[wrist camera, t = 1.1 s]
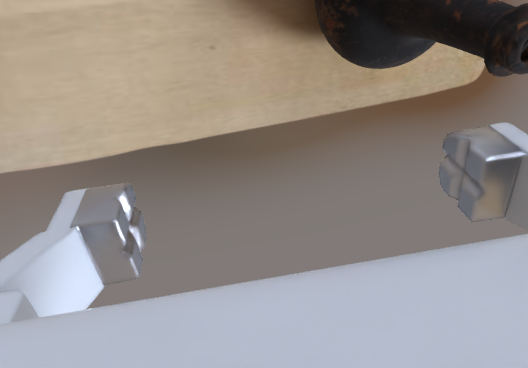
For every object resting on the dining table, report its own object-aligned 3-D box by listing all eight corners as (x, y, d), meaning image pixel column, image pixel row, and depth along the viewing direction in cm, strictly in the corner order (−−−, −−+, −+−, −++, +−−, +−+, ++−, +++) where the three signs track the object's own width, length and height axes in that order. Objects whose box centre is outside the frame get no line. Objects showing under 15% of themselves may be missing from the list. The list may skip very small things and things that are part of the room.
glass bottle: (348, -138, 45) (567, -171, 23) (450, -54, 53) (680, -19, 32) (273, 17, 52) (386, 105, 30) (373, 70, 61) (518, 168, 39)
